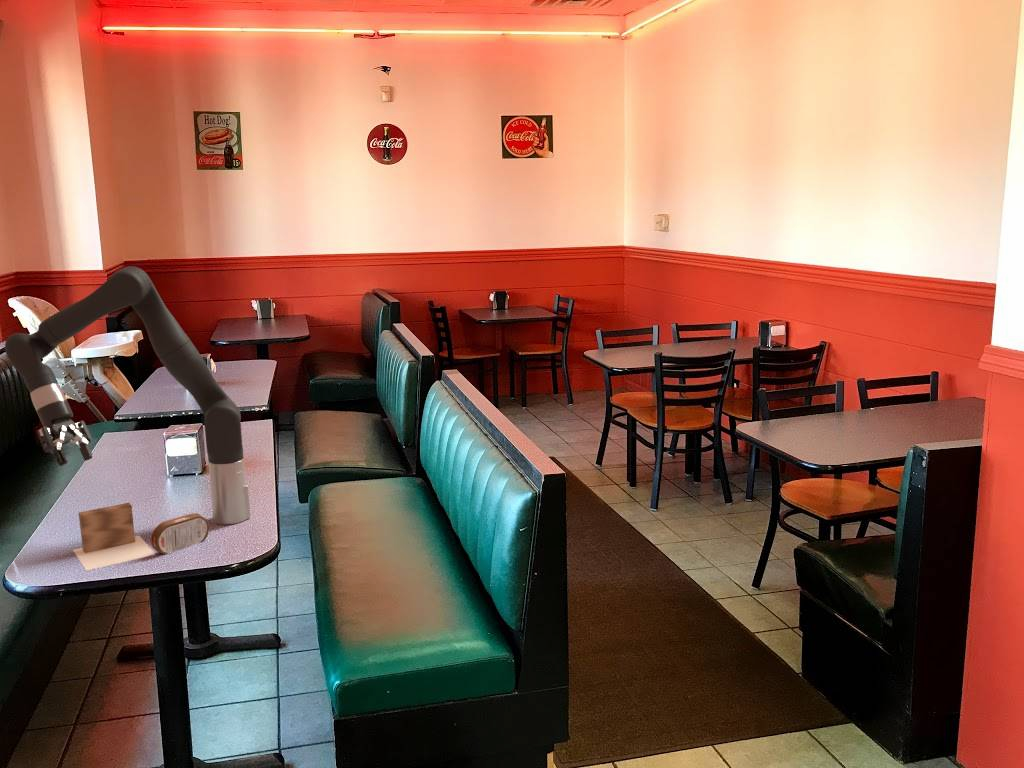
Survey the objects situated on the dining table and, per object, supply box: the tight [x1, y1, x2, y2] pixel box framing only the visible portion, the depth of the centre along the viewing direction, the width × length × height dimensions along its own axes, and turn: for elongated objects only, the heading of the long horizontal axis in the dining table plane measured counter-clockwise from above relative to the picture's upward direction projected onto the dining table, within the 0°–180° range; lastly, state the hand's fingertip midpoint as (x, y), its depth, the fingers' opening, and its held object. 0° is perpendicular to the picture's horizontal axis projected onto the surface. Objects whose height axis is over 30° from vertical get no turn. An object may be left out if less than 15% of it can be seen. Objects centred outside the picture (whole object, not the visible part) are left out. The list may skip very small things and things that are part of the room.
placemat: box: [72, 535, 156, 571], centre depth 224 cm, size 16×16×1 cm
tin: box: [150, 512, 210, 555], centre depth 226 cm, size 15×3×8 cm, turn 141°
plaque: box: [78, 502, 136, 553], centre depth 227 cm, size 12×3×10 cm, turn 126°
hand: (76, 462), depth 229 cm, fingers open, 8 cm apart
